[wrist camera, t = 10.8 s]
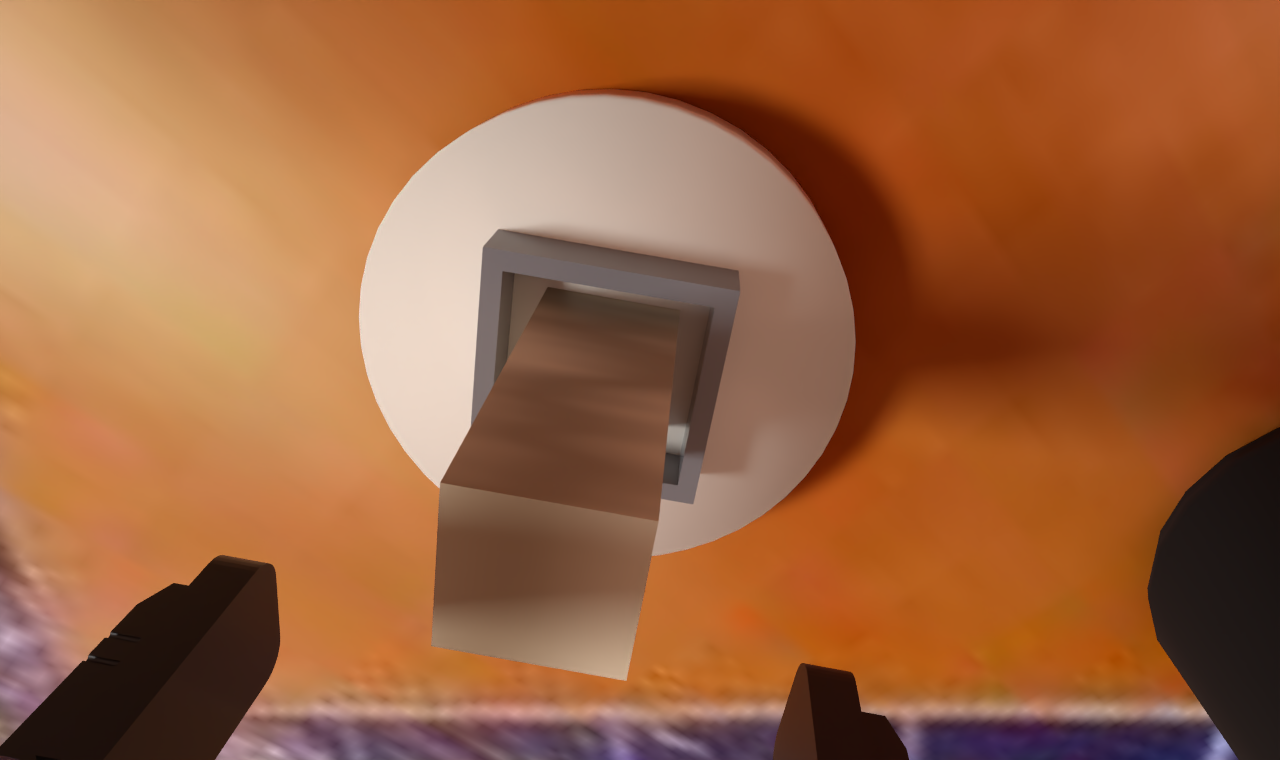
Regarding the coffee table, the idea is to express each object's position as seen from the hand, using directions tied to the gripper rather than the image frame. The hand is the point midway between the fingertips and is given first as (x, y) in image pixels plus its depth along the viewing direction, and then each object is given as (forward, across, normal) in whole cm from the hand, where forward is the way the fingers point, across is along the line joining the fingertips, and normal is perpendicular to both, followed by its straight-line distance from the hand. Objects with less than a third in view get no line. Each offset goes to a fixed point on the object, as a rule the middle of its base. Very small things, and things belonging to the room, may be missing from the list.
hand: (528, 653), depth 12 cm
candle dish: (+12, 0, 0) cm, 12 cm away
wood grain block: (+10, 0, 0) cm, 10 cm away
